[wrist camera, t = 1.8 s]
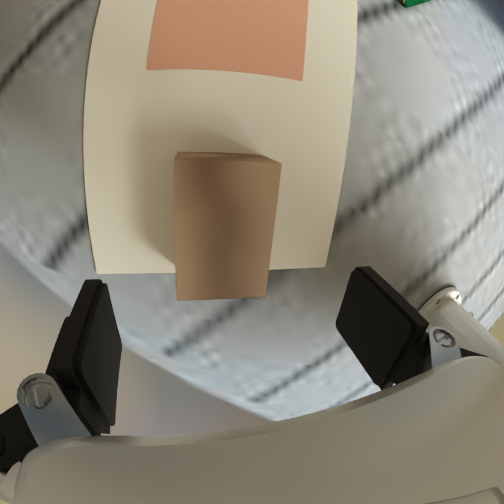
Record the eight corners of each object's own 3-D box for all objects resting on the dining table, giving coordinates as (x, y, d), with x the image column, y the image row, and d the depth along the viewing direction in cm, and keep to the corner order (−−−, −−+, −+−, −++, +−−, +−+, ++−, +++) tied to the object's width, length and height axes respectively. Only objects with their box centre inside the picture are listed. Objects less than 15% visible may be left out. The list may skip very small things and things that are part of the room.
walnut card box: (261, 154, 19) (281, 163, 15) (251, 265, 23) (265, 296, 19) (177, 151, 18) (173, 159, 14) (177, 267, 22) (177, 300, 18)
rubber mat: (354, -21, 13) (357, -22, 13) (323, 265, 25) (325, 267, 25) (118, -49, 8) (117, -51, 8) (97, 272, 20) (96, 274, 20)
